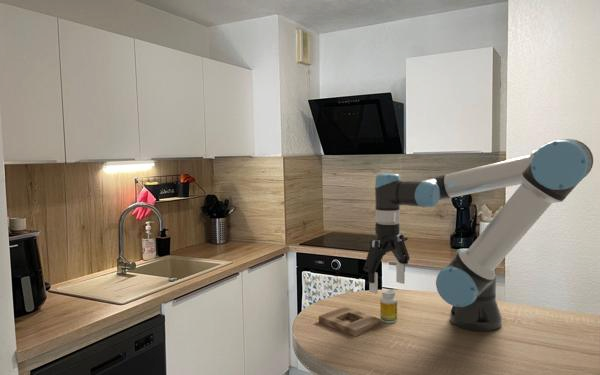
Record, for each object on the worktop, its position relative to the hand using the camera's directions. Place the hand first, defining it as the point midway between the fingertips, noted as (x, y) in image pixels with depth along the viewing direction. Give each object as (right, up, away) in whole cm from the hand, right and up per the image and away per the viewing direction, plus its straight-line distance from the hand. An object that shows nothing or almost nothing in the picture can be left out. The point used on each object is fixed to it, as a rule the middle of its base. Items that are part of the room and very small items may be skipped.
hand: (387, 287), depth 149 cm
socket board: (-12, -11, -1) cm, 17 cm away
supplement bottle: (+1, -11, +1) cm, 11 cm away
